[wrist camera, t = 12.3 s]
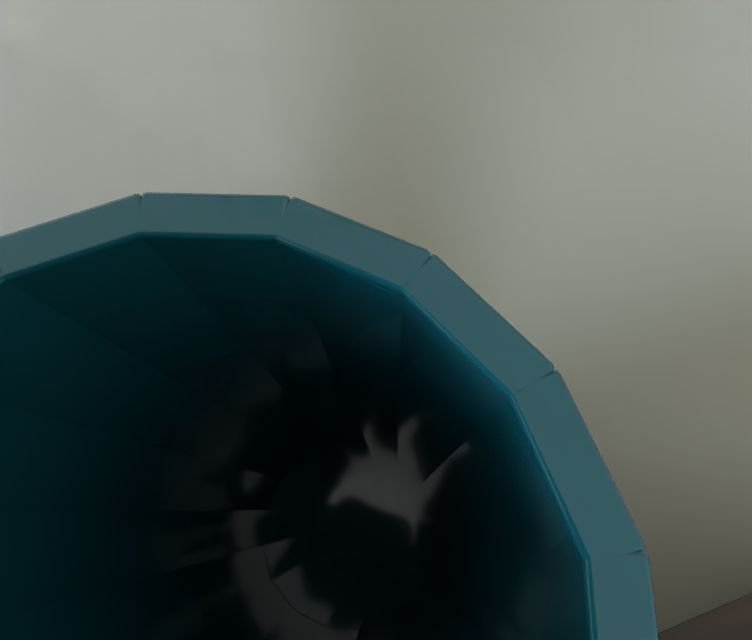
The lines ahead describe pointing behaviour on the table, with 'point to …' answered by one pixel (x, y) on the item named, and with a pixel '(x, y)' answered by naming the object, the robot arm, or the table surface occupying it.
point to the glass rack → (717, 624)
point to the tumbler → (288, 441)
